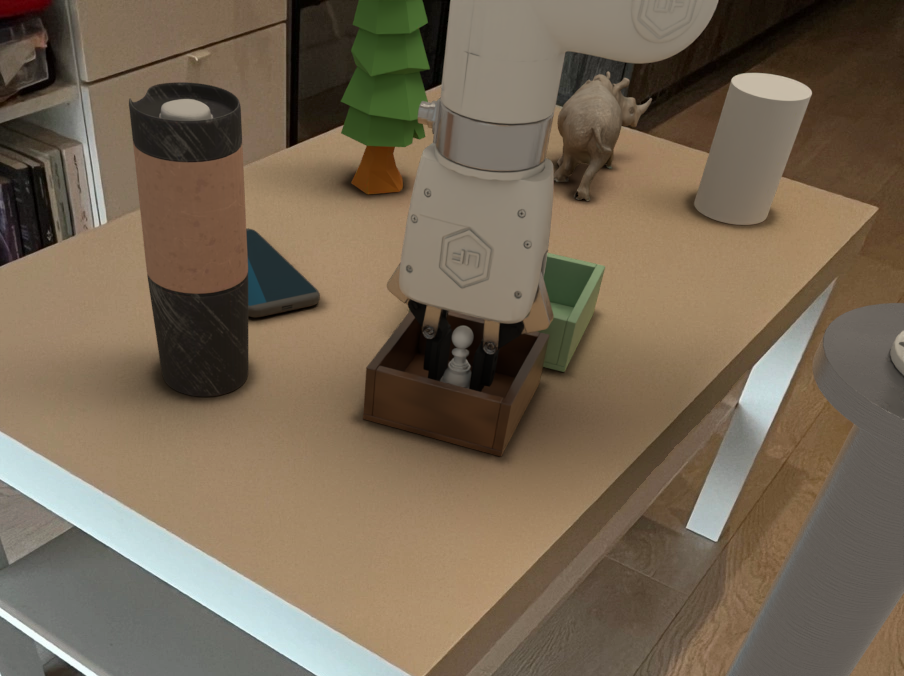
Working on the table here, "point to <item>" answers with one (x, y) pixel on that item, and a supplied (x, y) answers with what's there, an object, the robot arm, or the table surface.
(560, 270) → the sage bin
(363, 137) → the decorative tree
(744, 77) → the white closed cylinder
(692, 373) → the table surface
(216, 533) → the table surface
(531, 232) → the robot arm
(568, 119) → the rhinoceros figurine
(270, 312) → the smartphone
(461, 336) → the chess pawn
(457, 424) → the walnut bin
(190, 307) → the travel mug
